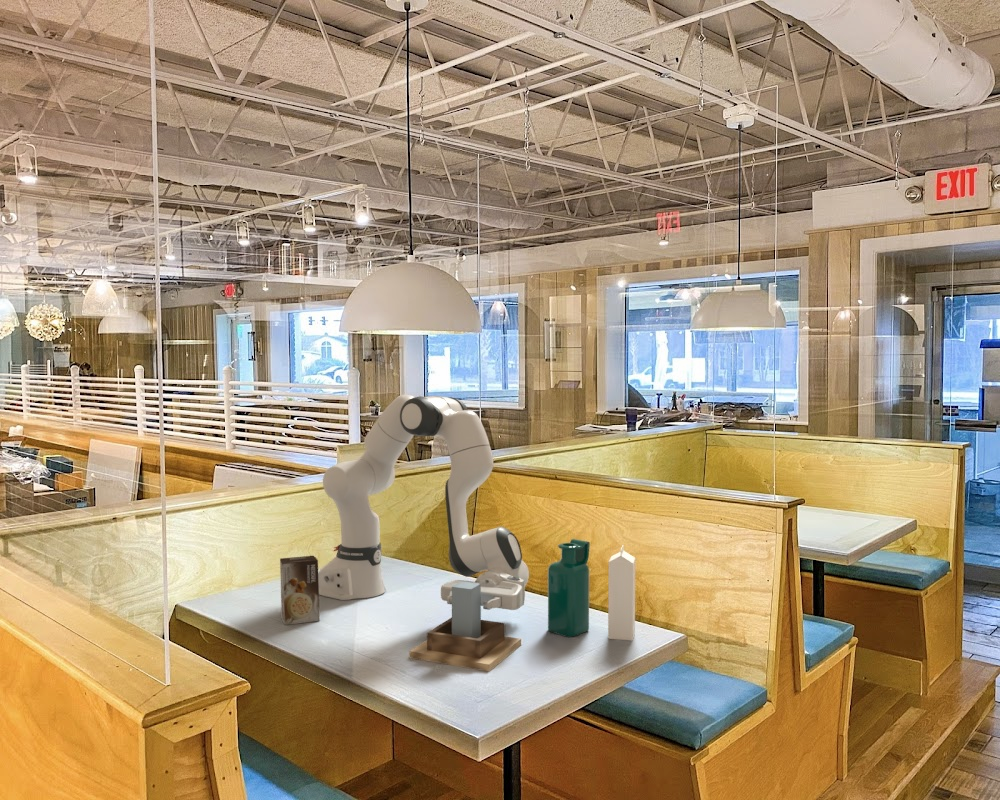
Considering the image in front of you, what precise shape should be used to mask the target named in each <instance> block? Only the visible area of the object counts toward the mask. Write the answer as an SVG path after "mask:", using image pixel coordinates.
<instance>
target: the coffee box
mask: <svg viewBox="0 0 1000 800" xmlns="http://www.w3.org/2000/svg"><path fill="white" fill-rule="evenodd" d="M279 563H280V564H279V565H280V566H279V568H280V570H279V571H280V572H279V573H280V603H281V604H280V606H281V607H280V608H281V609H280V611H281V620H282V622H283V624H284V626H289V625H296V624H304V623H310V622H312V623H313V622H320V621H321V619H320V615H321V614H320V595H319V578H318V573H319V560H318V558H317V557H315V555H305V556H294V557H283V558H279Z"/></svg>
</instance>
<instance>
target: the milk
mask: <svg viewBox="0 0 1000 800" xmlns="http://www.w3.org/2000/svg"><path fill="white" fill-rule="evenodd" d="M607 577H608V578H607V579H608V584H607V585H608V586H607V587H608V593H607V594H608V595H607V596H608V598H607V599H608V606H607V611H608V613H607V614H608V615H607V616H608V617H607V618H608V619H607V621H608V622H607V626H608V627H607V639H609V640H621V641H634V637H635V633H636V557H635V556H633V555H631V554H630V553H628V552H627V551H625V550H624V545H622V546H621V548H620V551H619V552H617V553H615V554H613V555H611V557H610V558H609V559H608V576H607Z"/></svg>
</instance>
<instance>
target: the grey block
mask: <svg viewBox="0 0 1000 800" xmlns="http://www.w3.org/2000/svg"><path fill="white" fill-rule="evenodd" d="M481 617H482V606H481V584H479V583H471V582H463V581H461V582H459V583H458V584H456V585H454V586H452V604H451V618H452V635H458V636H465V637H471V638H479V637H480V636H481V620H482V619H481Z"/></svg>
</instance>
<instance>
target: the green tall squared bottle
mask: <svg viewBox="0 0 1000 800" xmlns="http://www.w3.org/2000/svg"><path fill="white" fill-rule="evenodd" d="M590 545H591V544H590V541H588V540H587V541H586V540H582V539H576V538H572V539H571V540H570V542H564V543H563V542H562V543H559V544H558V545H557V547H558V548H559V549H561V550H560V551H561V557H560V559H559V560H558V561H555V562H552V563H550V564H549V566H548V569H547V630H548V631H549V632H550V633H554V634H556V635H561V636H564V637H568V638H572V637H577V636H579V635H581V634H584V633H586V632H588V631H589V629H590V569H589V566H588V560H589V557H590Z"/></svg>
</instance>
